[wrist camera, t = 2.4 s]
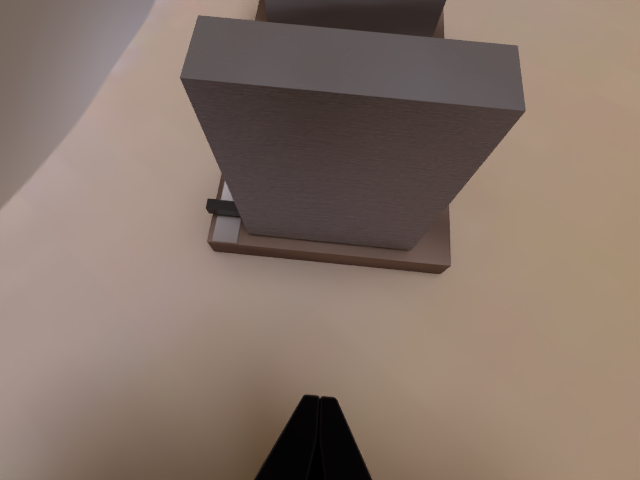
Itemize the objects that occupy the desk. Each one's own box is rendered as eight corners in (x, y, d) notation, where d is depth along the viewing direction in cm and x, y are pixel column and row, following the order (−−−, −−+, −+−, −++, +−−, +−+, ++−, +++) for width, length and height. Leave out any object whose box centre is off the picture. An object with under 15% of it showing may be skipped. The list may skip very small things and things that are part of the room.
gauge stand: (440, 273, 19) (523, 209, 12) (214, 251, 19) (154, 172, 12) (435, 24, 26) (488, -121, 18) (264, 8, 26) (246, -143, 18)
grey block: (411, 250, 18) (525, 111, 8) (207, 229, 18) (94, 69, 8) (412, 138, 20) (503, -70, 11) (231, 120, 20) (163, -102, 11)
